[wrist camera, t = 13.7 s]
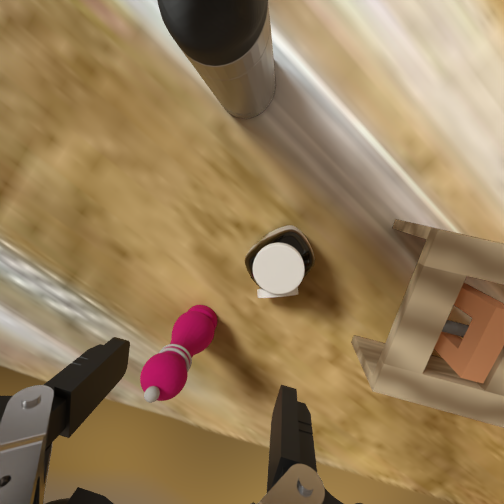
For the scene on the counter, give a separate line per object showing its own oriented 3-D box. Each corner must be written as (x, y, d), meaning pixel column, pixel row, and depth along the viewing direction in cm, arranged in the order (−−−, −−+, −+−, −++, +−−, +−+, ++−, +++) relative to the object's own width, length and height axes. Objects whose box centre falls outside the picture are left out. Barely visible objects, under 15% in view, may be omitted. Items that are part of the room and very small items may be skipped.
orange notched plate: (442, 276, 38) (496, 307, 28) (460, 280, 38) (521, 313, 28) (419, 332, 41) (460, 377, 31) (435, 336, 40) (483, 383, 31)
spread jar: (293, 216, 43) (296, 224, 32) (327, 271, 44) (341, 298, 33) (235, 252, 46) (219, 271, 35) (269, 303, 47) (264, 338, 36)
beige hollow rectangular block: (395, 219, 41) (438, 229, 29) (512, 245, 40) (605, 267, 28) (351, 342, 47) (372, 391, 35) (452, 368, 45) (509, 429, 34)
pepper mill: (227, 320, 49) (189, 403, 30) (203, 342, 51) (153, 434, 31) (200, 294, 49) (143, 361, 29) (176, 318, 50) (108, 396, 31)
